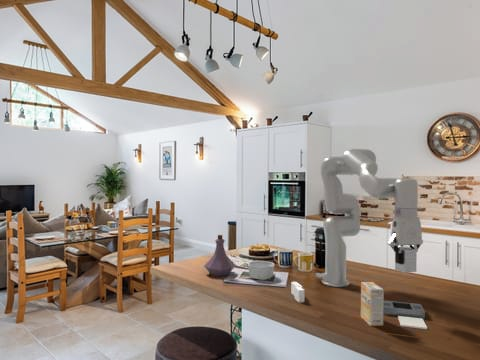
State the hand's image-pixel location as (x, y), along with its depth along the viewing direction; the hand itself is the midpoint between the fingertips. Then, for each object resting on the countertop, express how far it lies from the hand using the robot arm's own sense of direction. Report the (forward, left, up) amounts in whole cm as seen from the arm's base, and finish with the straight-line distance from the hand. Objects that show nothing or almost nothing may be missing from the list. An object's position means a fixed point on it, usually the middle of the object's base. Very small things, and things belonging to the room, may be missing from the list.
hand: (405, 262), depth 131 cm
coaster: (+1, -7, -20) cm, 21 cm away
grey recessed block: (-1, +3, -20) cm, 20 cm away
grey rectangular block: (0, 0, -3) cm, 3 cm away
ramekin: (-62, +33, -20) cm, 73 cm away
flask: (-84, +33, -20) cm, 92 cm away
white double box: (-41, +9, -21) cm, 46 cm away
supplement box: (-12, -9, -20) cm, 25 cm away
